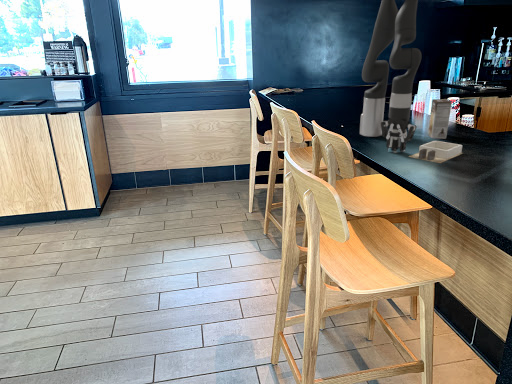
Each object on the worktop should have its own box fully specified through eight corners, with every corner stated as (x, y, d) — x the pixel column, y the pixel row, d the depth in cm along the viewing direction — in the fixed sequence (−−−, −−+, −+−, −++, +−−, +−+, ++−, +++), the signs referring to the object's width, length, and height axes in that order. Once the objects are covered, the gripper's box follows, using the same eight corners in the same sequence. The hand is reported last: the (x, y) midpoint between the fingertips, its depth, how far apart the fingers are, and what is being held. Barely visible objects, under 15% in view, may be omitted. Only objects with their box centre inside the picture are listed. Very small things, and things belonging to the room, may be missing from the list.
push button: (402, 152, 152) (405, 127, 148) (406, 156, 147) (409, 130, 143) (385, 152, 153) (387, 127, 149) (388, 156, 148) (390, 130, 144)
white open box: (418, 153, 146) (419, 145, 145) (433, 147, 153) (434, 140, 151) (446, 159, 138) (447, 151, 137) (461, 152, 145) (462, 145, 144)
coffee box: (427, 134, 180) (431, 99, 174) (441, 134, 179) (447, 99, 173) (431, 138, 171) (436, 102, 166) (446, 138, 170) (452, 102, 164)
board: (407, 159, 143) (409, 148, 142) (431, 150, 154) (433, 140, 152) (439, 166, 134) (441, 154, 133) (462, 156, 145) (464, 145, 143)
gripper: (423, 106, 140) (417, 151, 146) (388, 102, 151) (384, 144, 157) (412, 108, 136) (407, 155, 142) (377, 104, 146) (373, 148, 152)
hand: (395, 149), depth 149 cm, fingers closed on push button, 5 cm apart
